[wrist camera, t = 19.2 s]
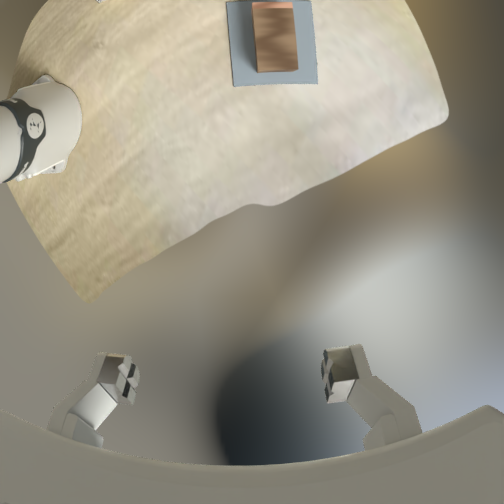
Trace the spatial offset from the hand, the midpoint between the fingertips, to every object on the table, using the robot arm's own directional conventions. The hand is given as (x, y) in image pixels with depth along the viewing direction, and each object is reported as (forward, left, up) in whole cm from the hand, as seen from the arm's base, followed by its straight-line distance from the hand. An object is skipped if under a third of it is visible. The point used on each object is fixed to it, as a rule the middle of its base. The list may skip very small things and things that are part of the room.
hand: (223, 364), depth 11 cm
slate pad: (+6, +17, -35) cm, 40 cm away
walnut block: (+6, +12, -32) cm, 35 cm away
